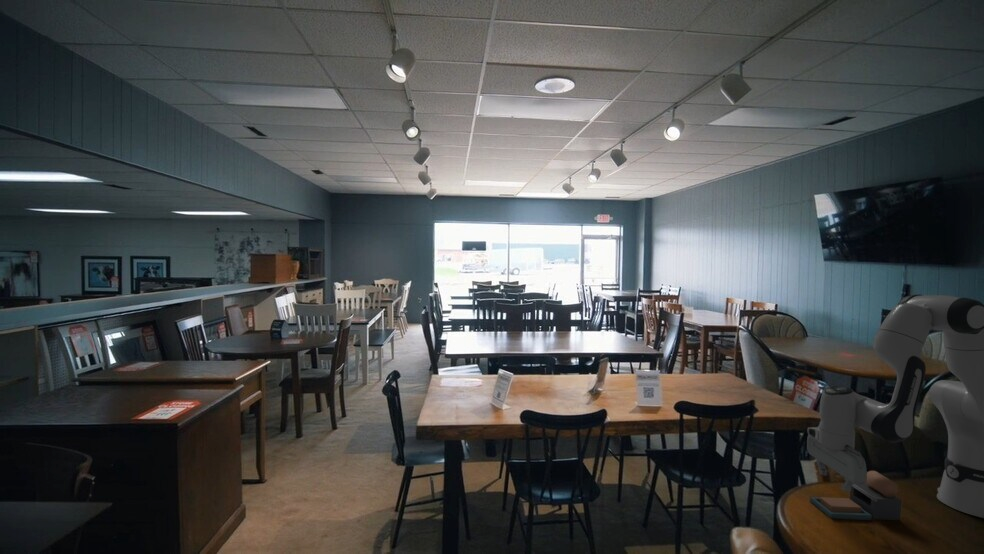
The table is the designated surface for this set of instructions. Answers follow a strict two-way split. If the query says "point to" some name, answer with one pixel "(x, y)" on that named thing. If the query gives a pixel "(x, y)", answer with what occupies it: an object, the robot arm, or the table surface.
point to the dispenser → (877, 497)
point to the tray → (834, 515)
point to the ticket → (840, 505)
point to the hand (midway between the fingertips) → (834, 482)
